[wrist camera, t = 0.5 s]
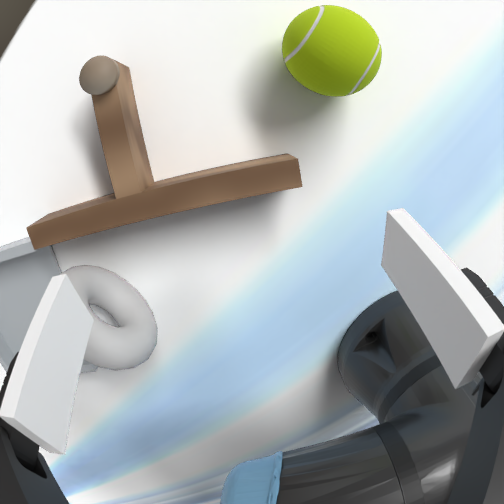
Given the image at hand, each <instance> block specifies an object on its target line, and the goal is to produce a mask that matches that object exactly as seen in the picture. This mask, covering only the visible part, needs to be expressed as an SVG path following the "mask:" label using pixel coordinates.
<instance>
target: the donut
mask: <svg viewBox="0 0 504 504" xmlns="http://www.w3.org/2000/svg"><path fill="white" fill-rule="evenodd" d="M63 274H67V276H68V278H69V280H70V281H71V283H72V285H73V286H74V288H75V290H76V292H77V293H78V295H79V297H80V298H81V300H82V302H83V303H84V305H85V306H86V308H87V310H88V311H89V313H90V314H91V316H92V317H93V319H94V321H93V325H92V328H91V332H90V335H89V339H88V343H87V347H86V351H85V355H84V360H86V361H88V362H90V363H92V364H94V365H95V366H97V367H102V368H106V369H111V370H122V369H130V368H134V367H136V366H138V365H139V364H141V363H143V362H144V361H146V360H147V359H148V358H149V357H150V355H151V353H152V351H153V349H154V348H155V346H156V343H157V325H156V321H155V318H154V315H153V312H152V310H151V308H150V307H149V305H148V303H147V301H146V300H145V299H144V298H143V297H142V295H141V294H140V293H139V292H138V291H137V290H136V289H135V288H134V287H133V286H132V285H131V284H130V283H128V282H127V281H126V280H125V279H123V278H121V277H120V276H118V275H117V274H115V273H113V272H111V271H108V270H106V269H104V268H101V267H96V266H90V265H82V266H75V267H72V268H70V269H68V270H66V271H65V272H63V273H61V274H60V275H63ZM89 304H94V305H96V306H99V307H101V308H103V309H104V310H106V311H107V312H108V313H109V314H111V315H112V316H113V318H114V319H115V320H116V321H117V323H118V325H119V327H114V326H111V325H109V324H107V323H106V322H104V321H102V320H101V319H100V318H99V317H98V316H97V315H95V313H94V312H93V311H92V309H91V308H90V306H89Z"/></svg>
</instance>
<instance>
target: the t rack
mask: <svg viewBox="0 0 504 504" xmlns="http://www.w3.org/2000/svg"><path fill="white" fill-rule="evenodd" d="M79 81H80V85H81V87H82V89H83V90H84V91H85V92H87V93H89V94H92V100H93V105H94V110H95V115H96V120H97V125H98V129H99V134H100V138H101V142H102V147H103V151H104V155H105V159H106V163H107V167H108V171H109V175H110V179H111V182H112V186H113V190H114V193H113V194H110V195H106V196H103V197H100V198H96V199H93V200H90V201H87V202H83V203H80V204H77V205H74V206H71V207H68V208H65V209H62V210H59V211H56V212H53V213H50V214H48V215H46V216H44V217H43V218H41V219H40V220H38V221H36V222H35V223H33V224H32V225H30V226H28V227H27V231H28V234H29V237H30V240H31V242H32V245H33V248H34V250H36V249H39V248H43V247H46V246H49V245H53V244H56V243H60V242H63V241H67V240H70V239H74V238H78V237H81V236H85V235H89V234H92V233H96V232H100V231H104V230H107V229H111V228H115V227H119V226H123V225H127V224H131V223H135V222H139V221H143V220H147V219H151V218H155V217H159V216H164V215H168V214H172V213H177V212H181V211H185V210H190V209H194V208H199V207H203V206H208V205H213V204H217V203H222V202H227V201H232V200H236V199H241V198H246V197H251V196H256V195H261V194H267V193H272V192H277V191H282V190H288V189H293V188H299V187H302V181H301V175H300V168H299V162H298V159H297V158H295V157H294V156H292V155H290V154H283V155H277V156H271V157H266V158H260V159H255V160H250V161H245V162H240V163H235V164H230V165H225V166H220V167H216V168H211V169H207V170H202V171H198V172H193V173H189V174H185V175H181V176H177V177H173V178H169V179H165V180H161V181H157V182H154V180H153V176H152V172H151V168H150V164H149V160H148V155H147V151H146V147H145V143H144V138H143V134H142V129H141V125H140V120H139V116H138V111H137V106H136V101H135V96H134V91H133V86H132V81H131V76H130V70H129V67H127V66H125V65H123V64H121V63H119V62H117V61H115V60H113V59H111V58H109V57H106V56H96V57H93V58H92V59H90V60H89V61H87V62H86V63H85V65H84V66H83V68H82V70H81V72H80V77H79Z"/></svg>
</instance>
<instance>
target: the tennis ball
mask: <svg viewBox="0 0 504 504" xmlns="http://www.w3.org/2000/svg"><path fill="white" fill-rule="evenodd" d="M282 53H283V58H284V61H285V62H286V63H285V64H286V67H287V68H288V70H289V72H290V73H291V74H292V76H293V77H294V78H295V79H296V80H297V81H298V82H299V83H300V84H302V85H303V86H305V87H306V88H308V89H309V90H311V91H313V92H316V93H319V94H322V95H326V96H346V95H351V94H354V93H356V92H358V91H360V90H362V89H363V88H364V87H366V86H367V85H368V84H369V83H370V82H371V81H372V80H373V78H374V77H375V76H376V74H377V72H378V69H379V67H380V63H381V54H382V52H381V45H380V44H379V39H378V36H377V34H376V33H375V31H374V29H373V28H372V27H371V25H370V24H369V23H368V22H367V21H366V20H365V19H364V18H362V17H361V16H360V15H358V14H356V13H355V12H353V11H351V10H348V9H346V8H343V7H339V6H332V5H322V6H320V7H319V6H316V7H313V8H310V9H308V10H306V11H304V12H302V13H301V14H299V15H298V16H297V17H296V18H295V19H294V20H293V21H292V22H291V23H290V24H289V26H288V28H287V29H286V32H285V34H284V37H283V43H282Z"/></svg>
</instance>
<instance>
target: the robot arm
mask: <svg viewBox="0 0 504 504" xmlns="http://www.w3.org/2000/svg"><path fill="white" fill-rule="evenodd" d="M381 266H382V267H383V269H384V270H385V272H386V273H387V275H388V276H389V278H390V279H391V281H392V282H393V284H394V285H395V287H396V289H397V290H398V291H396V292H393V293H391V294H389V295H387V296H385V297H383V298H381V299H380V300H378V301H377V302H375V303H374V304H373V305H371V306H370V307H369V308H367V309H366V310H365V311H364V312H363V313H362V314H361V315H360V316H359V317H358V318H357V319H356V320H355V321H354V323H353V324H352V325H351V327H350V328H349V329H348V331H347V333H346V334H345V336H344V338H343V340H342V343H341V345H340V348H339V353H338V368H339V371H340V374H341V376H342V379H343V381H344V383H345V385H346V387H347V389H348V390H349V391H350V392H351V393H352V394H353V395H354V396H355V397H356V398H357V399H358V400H359V401H360V402H361V403H362V404H363V405H364V406H365V407H366V408H367V409H368V410H369V411H370V412H371V413H372V414H373V415H374V416H376V417H377V419H378V421H379V423H380V424H379V425H377V426H374V427H371V428H368V429H365V430H362V431H359V432H356V433H353V434H350V435H347V436H343V437H340V438H337V439H333V440H330V441H326V442H323V443H319V444H315V445H312V446H308V447H304V448H300V449H295V450H291V451H287V452H282V451H278V452H276V453H275V454H274V455H271V456H267V457H263V458H259V459H255V460H250V461H246V462H243V463H240V464H238V465H237V466H235V467H234V468H233V469H232V470H231V472H230V473H229V475H228V476H227V478H226V481H225V483H224V487H223V491H222V496H221V502H220V504H504V306H503V305H502V304H501V302H500V301H499V300H498V299H497V297H496V296H494V295H493V292H492V291H491V290H490V289H489V288H487V285H486V284H485V283H484V282H483V280H482V279H481V278H480V277H479V276H478V275H477V274H475V273H474V272H472V271H471V270H469V269H468V268H464V269H461V270H460V269H459V268H458V266H457V265H456V264H455V263H454V262H453V261H452V259H451V258H450V257H449V256H448V255H447V254H446V253H445V252H444V250H443V249H442V248H441V247H440V246H439V245H438V244H437V243H436V242H435V241H434V240H433V238H432V237H431V236H430V235H429V234H428V233H427V232H426V231H425V230H424V229H423V228H422V227H421V226H420V225H419V224H418V223H417V222H416V221H415V220H414V219H413V218H412V217H411V216H410V214H409V213H408V212H407V211H406V210H405V209H404V208H401V209H395V210H390V211H387V218H386V228H385V238H384V247H383V255H382V263H381ZM93 321H94V319H93V317H92V316H91V314H90V313H89V311H88V310H87V308H86V306H85V305H84V303H83V302H82V300H81V298H80V297H79V295H78V293H77V292H76V290H75V288H74V286H73V285H72V283H71V281H70V280H69V278H68V276H67V274H63V275H58V276H53V277H52V279H51V281H50V283H49V285H48V287H47V289H46V291H45V293H44V295H43V297H42V299H41V302H40V304H39V306H38V308H37V310H36V313H35V315H34V317H33V319H32V322H31V324H30V326H29V329H28V331H27V334H26V336H25V338H24V341H23V344H22V346H21V349H20V351H19V352H17V354H16V355H15V357H14V358H13V359H12V361H11V362H10V365H9V368H8V371H7V373H6V374H7V376H5V379H4V382H3V383H4V385H2V388H1V391H0V504H69V502H68V501H67V499H66V498H65V496H64V494H63V492H62V491H61V489H60V487H59V485H58V484H57V482H56V480H55V478H54V476H53V474H52V473H51V471H50V469H49V467H48V465H47V463H46V461H45V459H44V457H43V456H42V454H41V453H39V452H38V451H39V446H40V447H42V448H43V449H45V450H46V451H48V452H49V453H57V454H65V452H66V445H67V438H68V432H69V426H70V420H71V414H72V409H73V404H74V399H75V394H76V389H77V384H78V380H79V375H80V371H81V367H82V363H83V359H84V355H85V351H86V347H87V343H88V339H89V335H90V332H91V328H92V325H93Z"/></svg>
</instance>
